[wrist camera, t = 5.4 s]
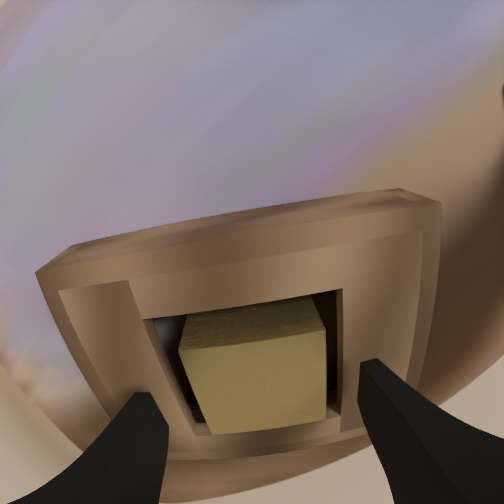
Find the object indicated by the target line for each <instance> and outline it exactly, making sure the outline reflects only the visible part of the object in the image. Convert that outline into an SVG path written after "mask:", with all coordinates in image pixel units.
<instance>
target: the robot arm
mask: <svg viewBox="0 0 504 504" xmlns="http://www.w3.org/2000/svg"><path fill="white" fill-rule="evenodd" d="M357 403H358V406H359V410H360V413H361V416H362V420H363V423H364V426H365V428H366V430H367V433H368V435H369V437H370V439H371V442H372V444H373V446H374V448H375V450H376V453H377V455H378V457H379V459H380V462H381V464H382V466H383V469H384V471H385V474H386V476H387V479H388V482H389V485H390V489H391V492H392V496H393V500H394V504H504V439H503V438H500V437H497V436H495V435H492V434H489V433H487V432H484V431H482V430H479V429H477V428H475V427H473V426H471V425H468V424H467V423H464V422H463V421H461V420H459V419H457V418H455V417H453V416H452V415H450V414H449V413H447V412H446V411H444V410H442V409H441V408H439V407H438V406H436V405H435V404H434V403H432V402H431V401H429V400H428V399H427V398H425V397H424V396H422V395H421V394H420V393H419V392H417V391H416V390H415V389H413V388H412V387H411V386H410V385H408V384H407V383H406V382H405V381H404V380H402V379H401V378H400V377H399V376H398V375H396V374H395V373H394V372H393V371H392V370H391V369H390V368H388V367H387V366H386V365H385V364H384V363H383V362H382V361H380V360H379V359H378V358H374V359H371V360H367V361H363V362H360V372H359V384H358V395H357ZM168 445H169V425H168V423H167V422H166V420H165V418H164V416H163V415H162V413H161V411H160V409H159V407H158V406H157V404H156V402H155V400H154V398H153V396H152V395H151V393H150V392H135V393H134V394H133V395H132V396H131V398H130V399H129V400H128V401H127V402H126V404H125V405H124V406H123V407H122V409H121V410H120V411H119V412H118V414H117V415H116V416H115V417H114V419H113V420H112V421H111V422H110V423H109V425H108V426H107V427H106V428H105V429H104V431H103V432H102V433H101V434H100V435H99V436H98V438H97V439H96V440H95V441H94V442H93V443H92V444H91V445H90V446H89V447H88V448H87V449H86V451H85V452H84V453H83V454H82V455H81V456H80V457H79V458H78V459H77V460H76V461H74V462H73V463H72V464H71V465H70V466H69V467H67V468H66V469H65V470H64V471H63V472H61V473H60V474H59V475H57V476H56V477H55V478H53V479H52V480H50V481H49V482H48V483H46V484H45V485H43V486H42V487H40V488H38V489H37V490H35V491H34V492H32V493H30V494H28V495H26V496H24V497H22V498H20V499H18V500H15V501H13V502H10V503H8V504H159V497H160V492H161V486H162V481H163V476H164V470H165V465H166V460H167V454H168Z"/></svg>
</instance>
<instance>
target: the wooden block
mask: <svg viewBox="0 0 504 504" xmlns="http://www.w3.org/2000/svg"><path fill="white" fill-rule="evenodd" d="M178 352H179V355H180V358H181V360H182V363H183V366H184V368H185V371H186V374H187V376H188V379H189V381H190V384H191V387H192V389H193V392H194V394H195V396H196V399H197V401H198V404H199V406H200V408H201V411H202V413H203V416H204V418H205V420H206V422H207V425H208V427H209V429H210V431H211V434H212V435H215V434H229V433H241V432H250V431H259V430H267V429H274V428H281V427H287V426H293V425H299V424H305V423H310V422H315V421H320V420H325V419H326V330H325V327H324V325H323V323H322V320H321V318H320V316H319V314H318V311H317V309H316V307H315V305H314V302H313V300H312V298H311V296H310V294H309V295H303V296H298V297H292V298H287V299H281V300H275V301H269V302H263V303H257V304H251V305H244V306H238V307H232V308H225V309H218V310H211V311H204V312H197V313H190V314H188V315H187V319H186V323H185V326H184V330H183V334H182V338H181V341H180V345H179V349H178Z"/></svg>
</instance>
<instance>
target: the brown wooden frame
mask: <svg viewBox="0 0 504 504" xmlns="http://www.w3.org/2000/svg"><path fill="white" fill-rule="evenodd" d="M441 222H442V203H440V202H437V201H434V200H432V199H429V198H426V197H423V196H421V195H418V194H415V193H412V192H409V191H406V190H403V189H400V188H399V189H390V190H382V191H373V192H365V193H358V194H350V195H342V196H335V197H328V198H321V199H314V200H307V201H301V202H294V203H287V204H281V205H275V206H269V207H262V208H256V209H250V210H244V211H239V212H233V213H227V214H222V215H216V216H210V217H205V218H200V219H194V220H189V221H184V222H179V223H173V224H168V225H163V226H158V227H153V228H149V229H144V230H139V231H134V232H129V233H125V234H120V235H115V236H111V237H106V238H102V239H97V240H93V241H89V242H84V243H80V244H76V245H72V246H71V247H69V248H68V249H66V250H65V251H63V252H62V253H61V254H59V255H58V256H57V257H55V258H54V259H52V260H51V261H50V262H48V263H47V264H46V265H44V266H43V267H42V268H40V269H39V270H38V271H36V272H35V274H36V277H37V280H38V282H39V285H40V288H41V290H42V293H43V295H44V297H45V300H46V302H47V305H48V307H49V309H50V311H51V314H52V316H53V318H54V320H55V322H56V325H57V327H58V329H59V331H60V333H61V335H62V337H63V339H64V341H65V343H66V345H67V347H68V349H69V351H70V353H71V354H72V356H73V358H74V360H75V362H76V364H77V365H78V367H79V369H80V371H81V373H82V374H83V376H84V378H85V379H86V381H87V383H88V384H89V386H90V388H91V389H92V391H93V392H94V394H95V396H96V397H97V399H98V400H99V402H100V403H101V405H102V406H103V408H104V409H105V411H106V412H107V414H108V415H109V417H110V418H111V420H113V419H114V417H115V416H116V415H117V414H118V412H119V411H120V410H121V409H122V407H123V406H124V405H125V404H126V402H127V401H128V400H129V399H130V398H131V396H132V395H133V394H134V393H135V392H150V393H151V395H152V396H153V398H154V400H155V402H156V404H157V406H158V407H159V409H160V411H161V413H162V415H163V416H164V418H165V420H166V422H167V423H168V425H169V445H168V454H167V460H211V459H229V458H242V457H252V456H261V455H269V454H276V453H283V452H289V451H295V450H301V449H306V448H312V447H317V446H321V445H326V444H330V443H335V442H339V441H343V440H347V439H351V438H354V437H358V436H362V435H365V434H368V433H367V430H366V428H365V426H364V423H363V420H362V416H361V413H360V410H359V406H358V403H357V395H358V384H359V372H360V362H363V361H367V360H371V359H374V358H378V359H379V360H380V361H382V362H383V363H384V364H385V365H386V366H387V367H388V368H390V369H391V370H392V371H393V372H394V373H395V374H396V375H398V376H399V377H400V378H401V379H402V380H404V381H405V382H406V383H407V384H408V385H410V386H411V387H412V388H413V389H415V390H416V391H417V388H418V384H419V380H420V376H421V372H422V368H423V364H424V359H425V355H426V350H427V346H428V341H429V335H430V330H431V324H432V318H433V312H434V305H435V298H436V290H437V282H438V272H439V260H440V246H441ZM335 289H336V300H337V342H338V368H337V389H334V390H330V391H326V419H325V420H320V421H315V422H310V423H305V424H299V425H293V426H287V427H281V428H274V429H267V430H259V431H250V432H241V433H229V434H215V435H212V434H211V431H210V429H209V427H208V425H207V422H206V420H205V418H204V416H203V413H202V411H201V409H198V410H190V409H189V406H188V404H187V402H186V400H185V398H184V396H183V393H182V391H181V389H180V387H179V384H178V382H177V380H176V378H175V375H174V373H173V370H172V368H171V366H170V363H169V361H168V358H167V356H166V354H165V351H164V349H163V346H162V343H161V341H160V338H159V336H158V333H157V330H156V328H155V325H154V322H153V320H152V318H158V317H166V316H174V315H182V314H190V313H197V312H204V311H211V310H218V309H225V308H232V307H238V306H244V305H251V304H257V303H263V302H269V301H275V300H281V299H287V298H292V297H298V296H303V295H309V294H314V293H319V292H325V291H330V290H335Z"/></svg>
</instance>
